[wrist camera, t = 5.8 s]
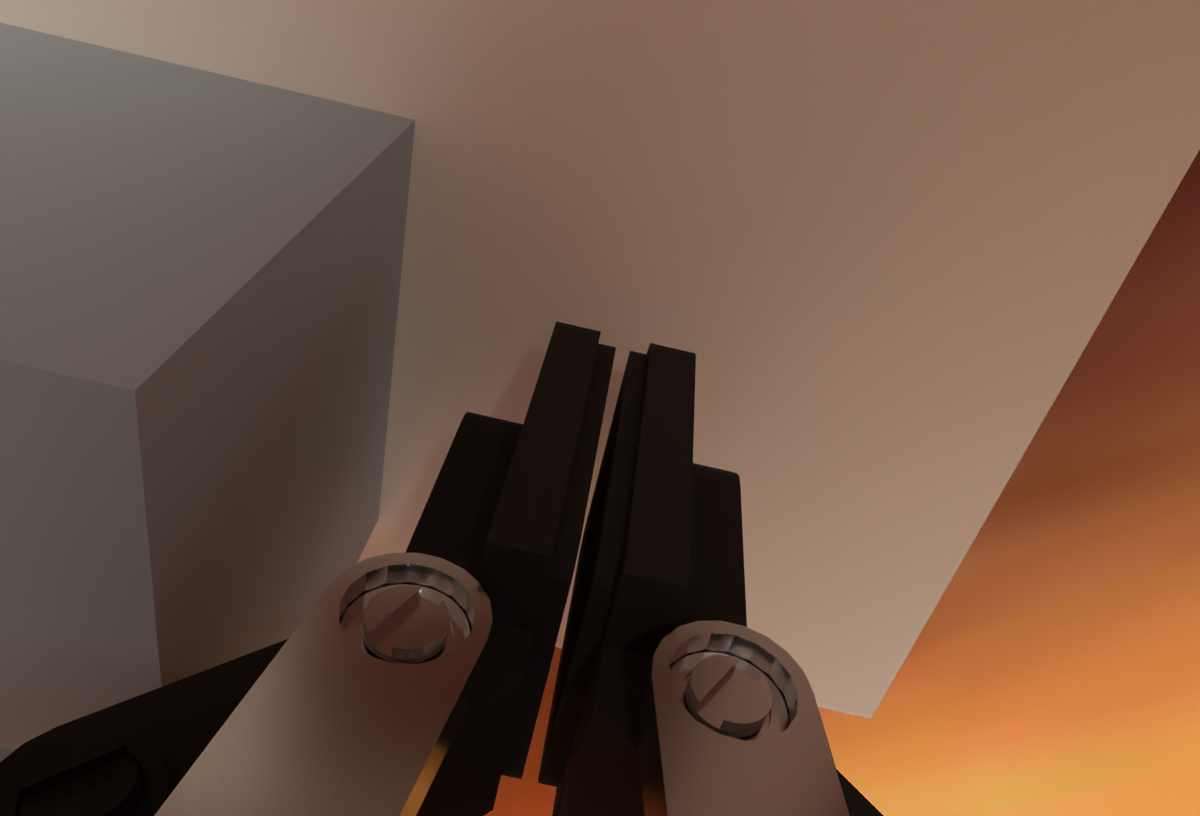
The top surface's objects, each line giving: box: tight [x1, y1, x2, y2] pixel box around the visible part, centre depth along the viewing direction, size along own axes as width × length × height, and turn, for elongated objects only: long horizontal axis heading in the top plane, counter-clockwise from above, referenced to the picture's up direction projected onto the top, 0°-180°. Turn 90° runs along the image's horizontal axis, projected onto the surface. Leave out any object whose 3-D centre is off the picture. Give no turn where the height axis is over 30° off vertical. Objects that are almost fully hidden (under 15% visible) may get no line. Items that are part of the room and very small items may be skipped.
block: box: [0, 23, 415, 749], centre depth 9 cm, size 6×6×6 cm
